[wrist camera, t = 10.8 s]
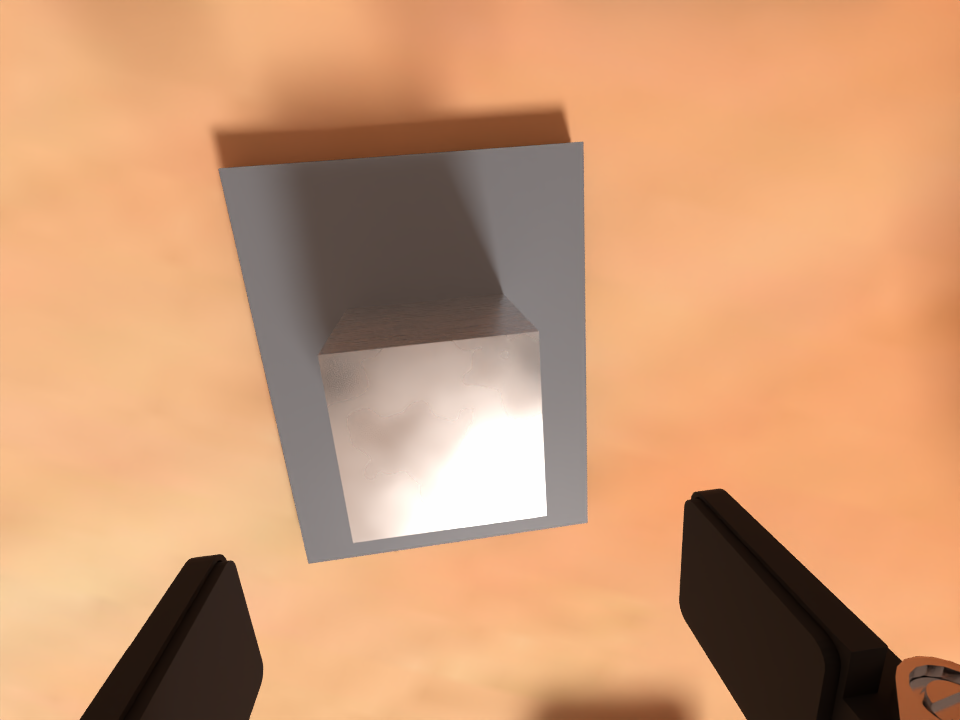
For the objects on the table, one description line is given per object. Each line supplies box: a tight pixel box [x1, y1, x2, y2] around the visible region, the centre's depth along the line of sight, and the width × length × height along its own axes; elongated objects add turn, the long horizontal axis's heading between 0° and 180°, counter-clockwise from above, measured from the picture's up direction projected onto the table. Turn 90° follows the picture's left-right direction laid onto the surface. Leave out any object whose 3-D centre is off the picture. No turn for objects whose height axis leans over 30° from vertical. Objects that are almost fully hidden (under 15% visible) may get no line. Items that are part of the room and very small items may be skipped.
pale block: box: [318, 294, 546, 543], centre depth 19 cm, size 7×7×6 cm
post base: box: [219, 142, 588, 564], centre depth 21 cm, size 14×18×6 cm
